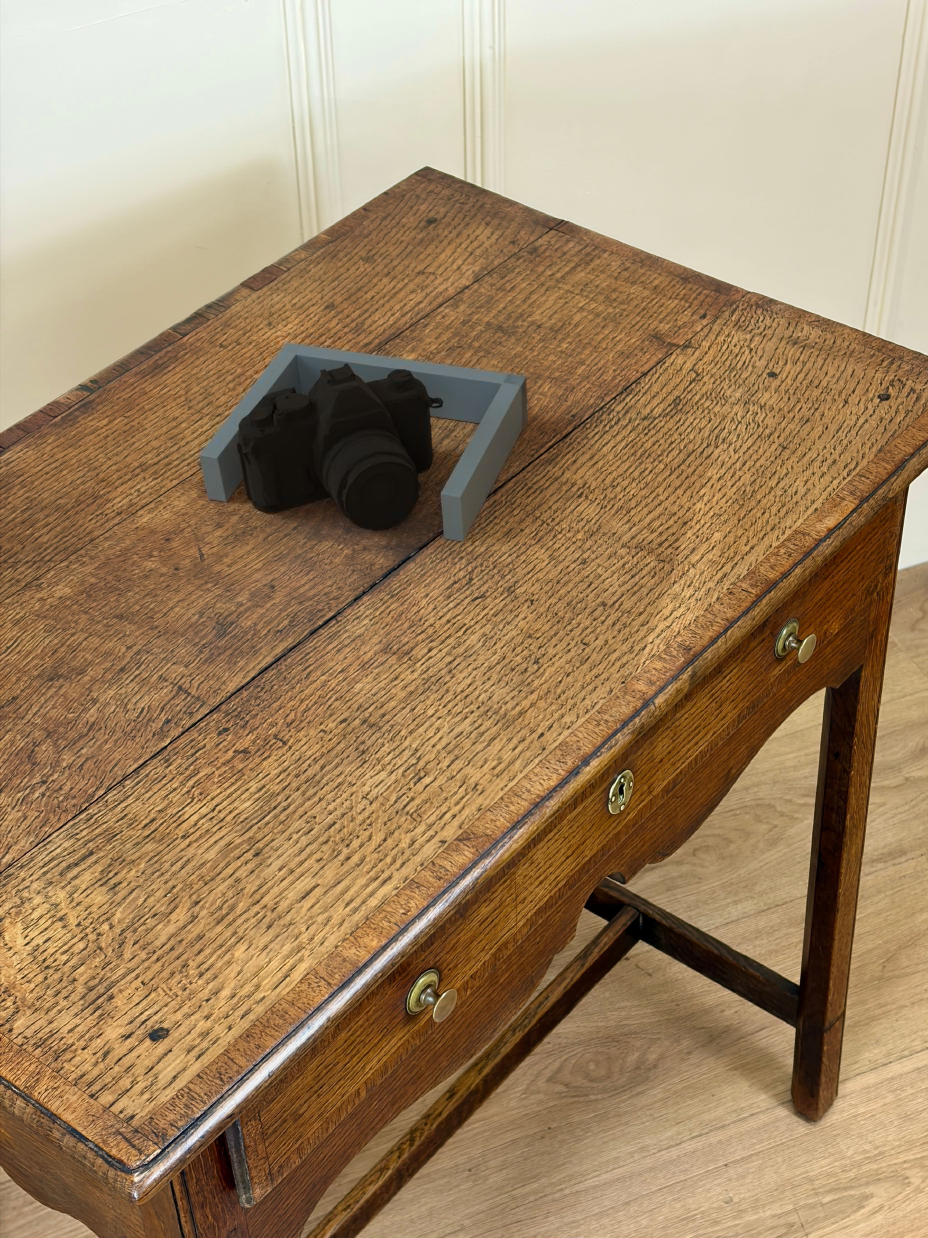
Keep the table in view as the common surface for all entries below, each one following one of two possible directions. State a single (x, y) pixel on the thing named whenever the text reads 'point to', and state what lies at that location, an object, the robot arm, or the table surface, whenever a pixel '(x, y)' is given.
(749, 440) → the table surface
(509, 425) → the u-shaped bracket
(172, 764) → the table surface
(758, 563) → the table surface
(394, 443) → the film camera
